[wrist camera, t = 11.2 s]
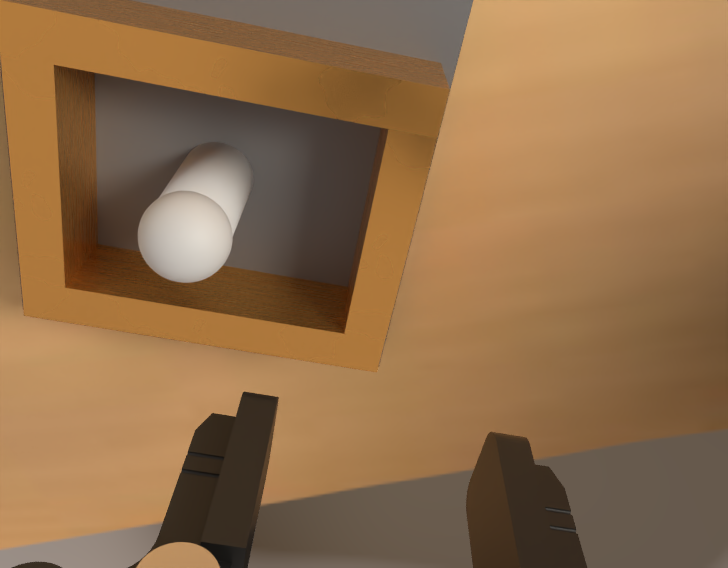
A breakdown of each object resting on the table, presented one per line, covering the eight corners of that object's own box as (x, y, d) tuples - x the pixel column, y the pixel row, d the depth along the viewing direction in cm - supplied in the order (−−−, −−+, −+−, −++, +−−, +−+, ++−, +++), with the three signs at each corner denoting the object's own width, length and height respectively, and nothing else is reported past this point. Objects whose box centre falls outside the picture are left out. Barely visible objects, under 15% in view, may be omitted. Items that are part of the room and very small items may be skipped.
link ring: (440, 62, 21) (449, 89, 18) (376, 323, 26) (376, 372, 23) (44, -18, 20) (-5, -1, 17) (60, 270, 25) (24, 315, 22)
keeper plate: (505, -157, 19) (567, -171, 13) (378, 344, 28) (379, 477, 22) (-3, -275, 18) (-207, -354, 12) (39, 288, 27) (-61, 412, 21)
